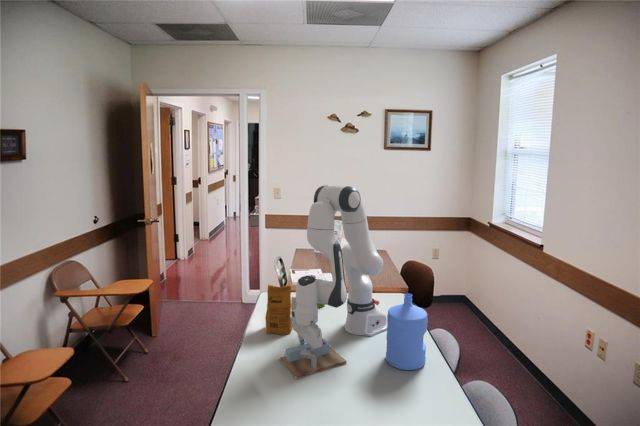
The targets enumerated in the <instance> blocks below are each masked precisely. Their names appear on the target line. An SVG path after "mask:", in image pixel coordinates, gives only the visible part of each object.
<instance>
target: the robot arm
mask: <svg viewBox="0 0 640 426" xmlns="http://www.w3.org/2000/svg"><path fill="white" fill-rule="evenodd" d="M365 208H366V207H365V205H364V202H363V199H362V197H361V195H360V192H359V190H358V189H357V188H355V187H353V186H350V185H348V186H347V185H341V184H334V185H329V184H327V185H326V184H325V185H321V186H319V187H318V188H317V189H316V190H315V192H314V195H313V203H312V204H311V205H310V209H309V212H308V216H307V217H308V220H307V228H306V238H307V239H306V240H307V241H308V244H309V245H310V246H311V247H312V249H314V250H316V251H317V252H320V253H321V254H323V255H324V256H325V257H327V259H328V260H329V262H330V269H331V277H332V281H330V280H327V279H321V278H316V277H314V276H312V275H304V276H301V277H299V278H298V279H297V282H296V287H295V292H296V303H297V307H296V309H295V310H292V309H291V322H292V331H294V332H295V333H296V334H297V338H298V342H299V345H303V344H305V342H306V344H307V343H308V344H309V345H310V346H311V349H310V350H311V351H314V352H315V350H316V349H317V348H321V347H322V338H323V333H322V330H321V328H320V327H319V325H318V324H317V323H318V321H319V308H317V303H320V304H325V306H330V307H333V308H335V309H336V308H339V307H341V306H342V305H344V304H345V303H346V309H347V314H346V319H345V320H346V321H345V324H344V326H343V328H344V330H345V331H347V333H350V334H352V335H359V336H366V337H372V336H373V337H374V336H375V335H377V334H378V335H379V334H380V333H382V332H384V331H387V315H386V313H385V312H384V311H383V310H382V309H380V308H379V307H377V306H379V304H380V301H379V300H378V299H374V298H373V282H372V280H371V278H370V277H375V276H378V275H379V274H381V272H382V271H383V268H384V259H383V258H382V256H381V255H380V253H378V250H377V249H376V246H375V244H374V242H373V240H372V237H371V234H370V228H369V224H368V223H369V222H368V218H367V212H366V209H365ZM337 212H340V215H341V217H340V218H341V222H342V223H341V224H342V229H343V235H344V238H345V240H346V242H347V243H348V244H345V245H344V246H343V247H342V246H341V244H340V243H339V242H338V241H337V239H336V237H335V215H336V214H337ZM345 273H346V278H347V285H346V281H345ZM346 301H347V302H346Z"/></svg>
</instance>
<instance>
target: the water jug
mask: <svg viewBox="0 0 640 426" xmlns="http://www.w3.org/2000/svg"><path fill="white" fill-rule="evenodd" d="M403 297H404V298H403V303H400V304H396V305H393V306H391V307H390V308H388V310H387V315H386V319H387V330H386V351H385V359H386V361H387V363H388V364H389V365H390V366H391V367H393V368H395V369H398V370H402V371H415V370H418V369H421V368H423V367H424V365H425V364H426V359H427V358H426V351H427V347H426V344H425V342H424V337H425V336H424V335H425V333H426V332H427V330H428V320H429V319H428V313H427V311H426V310H425V309H424V308H422V307H419V306H417V305H415V304H413V294H412V293H404V295H403Z"/></svg>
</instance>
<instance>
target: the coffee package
mask: <svg viewBox="0 0 640 426" xmlns="http://www.w3.org/2000/svg"><path fill="white" fill-rule="evenodd" d="M291 295H292V285H291V284H290V285H289V284H288V285H283V286H276V285H269V284H268V285H267V303H266V313H265V333H266V334H267V335H271V334H275V335H279V336H280V335H289V334H291V333H292V331H293V327H292V315H291V310H292V307H291V298H292V296H291Z"/></svg>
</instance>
